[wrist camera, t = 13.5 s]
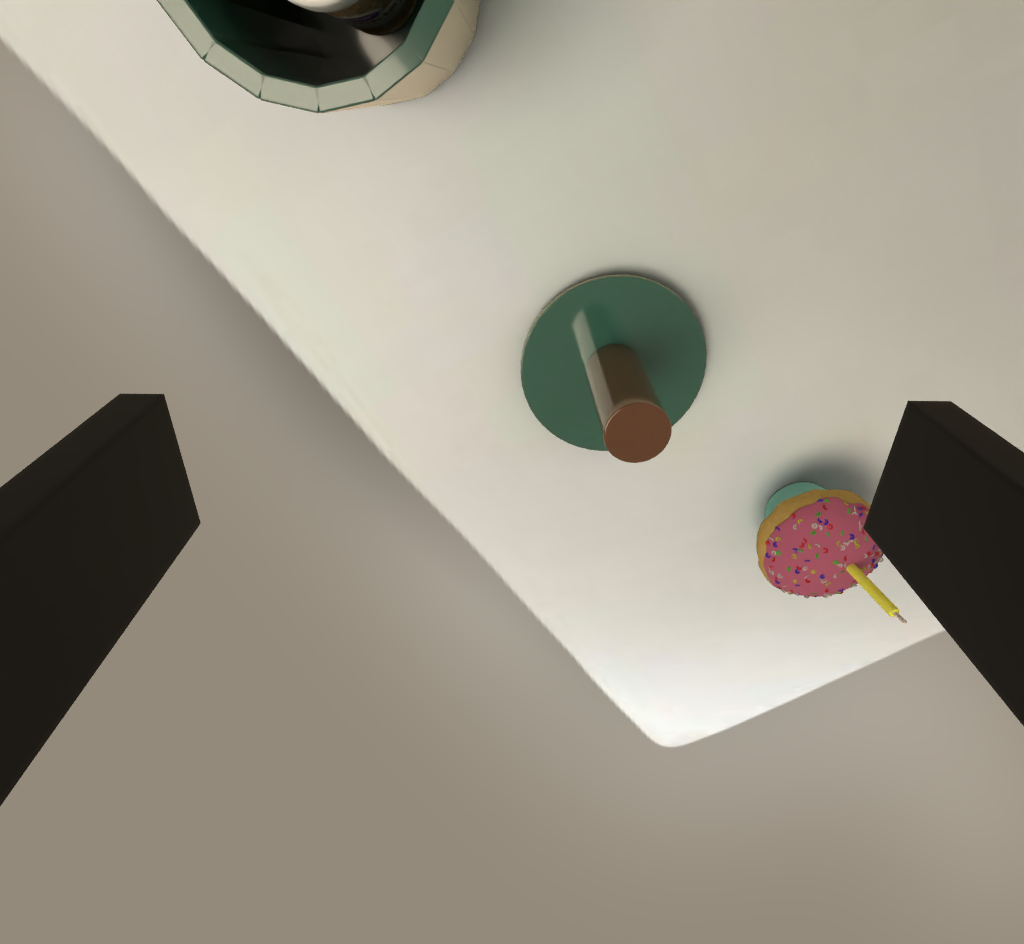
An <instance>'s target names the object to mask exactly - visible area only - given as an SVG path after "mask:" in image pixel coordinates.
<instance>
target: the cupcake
mask: <svg viewBox="0 0 1024 944" xmlns="http://www.w3.org/2000/svg"><path fill="white" fill-rule="evenodd" d="M870 507H871V506H870V504H869V503H868V502H867V501H865V500H864V499H862V498H861V497H859V496H858V495H856V494H855V493H853V492H850V491H846V490H826V489H825V488H823V487H821V486H819V485H817V484H814V483H810V482H798V483H794V484H790V485H788V486H785V487H784V488H782V489H780V490H779V491H777V492H776V493H775V494H774V495H773V496H772V497H771V499H770V500H769V502H768V504H767V506H766V509H765V520H764V521H763V522H762V524H761V525H760V528H759V531H758V534H757V554H758V559H759V561H758V564H759V567H760V569H761V571H762V573H763V574H764V576H765V577H766V579H767V580H768V581H769V582H770V583H771V584H772V585H773V586H775V587H776V588H779V589H781V590H782V591H783V592H784V593H785V592H788V594H796V595H797V596H799V595H803V596H804V597H805V598H809V596H813V597H817V596H823V597H825V596H826V598H827V597H828V595H829V596H832V595H833V594H838V593H839V594H842V593H843V590H846V589H848V588H851V587H853V586H857V585H856V584H858V583H859V584H860V585H861V586H862V587H863V588H864V589H865V590H866V591H867V593H868V594H869V595H870V596H871V597H872V598H873V599H874V600H875V601H876V602H877V603H878V604H879V605H880V606H881V607H882V608H883V609H884V611H885V612H886V613H887V614H888V615H889V616H891V617H894V616H896V617H897V618H899V620H900V621H902V622H903V623H907V621H906V620H905V619H903V618H902V617H901V616H900V615H899V614H898V613H899V609H898V608H897V607H896V606H895V605H894V604H893V603H892V602H891V601H890V600H889V599H888V598H887V597H886V596H885V595H884V594H883V593H882V592H881V591H880V590H879V589H878V588H877V587H876V586H875V585H874V584H873V583H872V582H871V581H870V579H869V578H868V577H867V575H868V574H869V573H871V572H872V571H873V569H875V568H877V567H878V565H877V563H878V562H882V561H883V558H882V556H883V554H884V553H883V552H882V551H881V549H880V548H879V547H878V546H877V544H876V543H875V542H874V541H873V540H872V538H871V537H870V536H869V535H868V533H867V532H866V531H865V530H864V528H863V527H864V524H865V521H866V518H867V515H868V513H869V510H870ZM881 559H882V560H881ZM880 560H881V561H880ZM875 566H876V567H875ZM841 591H842V592H841ZM840 592H841V593H840ZM806 596H807V597H806Z"/></svg>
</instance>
